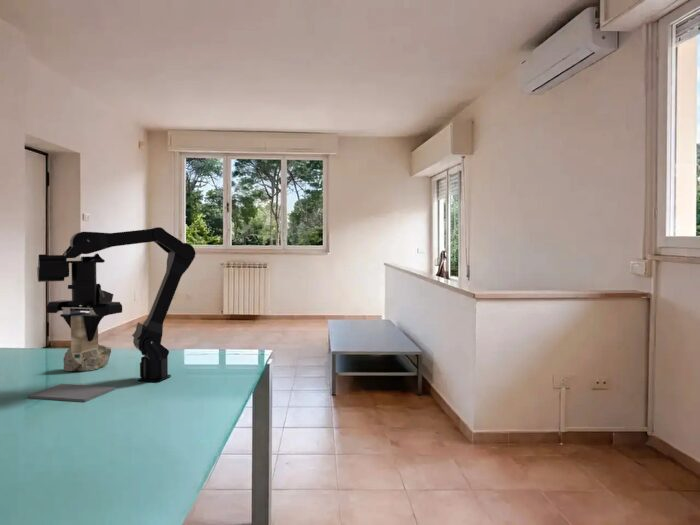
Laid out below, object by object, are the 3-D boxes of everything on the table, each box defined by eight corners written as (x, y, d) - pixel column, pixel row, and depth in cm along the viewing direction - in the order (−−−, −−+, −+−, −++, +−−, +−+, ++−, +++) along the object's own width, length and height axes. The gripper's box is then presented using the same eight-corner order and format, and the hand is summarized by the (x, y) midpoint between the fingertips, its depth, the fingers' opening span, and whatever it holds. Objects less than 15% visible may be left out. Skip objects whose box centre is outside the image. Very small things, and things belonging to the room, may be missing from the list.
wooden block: (98, 348, 136) (97, 313, 135) (81, 353, 130) (80, 316, 129) (88, 348, 136) (88, 312, 136) (71, 352, 130) (70, 315, 130)
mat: (115, 389, 133) (115, 387, 133) (84, 401, 122) (84, 399, 122) (61, 386, 136) (61, 383, 136) (27, 397, 125) (27, 395, 125)
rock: (57, 370, 148) (70, 336, 150) (60, 368, 154) (71, 336, 156) (102, 379, 152) (113, 346, 155) (102, 378, 158) (113, 346, 160)
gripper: (135, 279, 138) (136, 337, 138) (77, 278, 143) (78, 334, 143) (106, 281, 127) (107, 344, 128) (44, 280, 132) (45, 341, 132)
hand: (85, 340), depth 133 cm, fingers closed on wooden block, 3 cm apart
